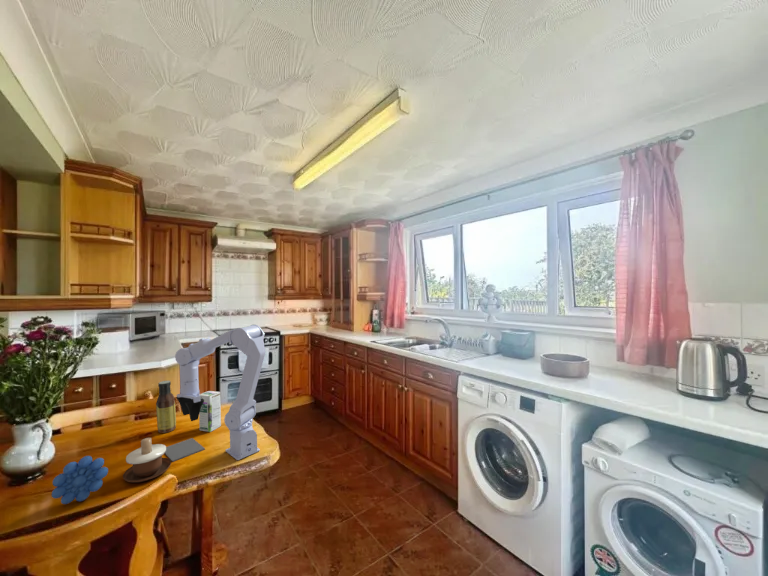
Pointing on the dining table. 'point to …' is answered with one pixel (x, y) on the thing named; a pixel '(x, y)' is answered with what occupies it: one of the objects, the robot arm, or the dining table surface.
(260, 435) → the dining table surface
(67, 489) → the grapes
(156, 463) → the cup and saucer
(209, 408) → the syrup box
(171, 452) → the plate
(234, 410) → the robot arm
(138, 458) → the lid
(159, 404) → the sauce bottle
